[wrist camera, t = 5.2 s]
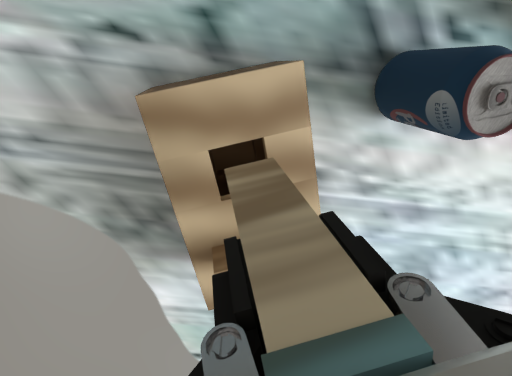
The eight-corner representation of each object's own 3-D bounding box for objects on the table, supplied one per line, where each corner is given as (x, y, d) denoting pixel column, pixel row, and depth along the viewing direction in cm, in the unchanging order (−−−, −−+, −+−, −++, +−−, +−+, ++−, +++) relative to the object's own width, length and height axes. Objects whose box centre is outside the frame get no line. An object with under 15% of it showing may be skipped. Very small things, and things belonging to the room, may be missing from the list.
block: (221, 167, 19) (270, 400, 6) (275, 154, 19) (433, 350, 6) (233, 214, 20) (293, 484, 7) (282, 202, 20) (424, 441, 8)
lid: (137, 94, 21) (123, 102, 17) (299, 60, 22) (322, 59, 18) (208, 302, 29) (210, 341, 25) (323, 270, 30) (343, 302, 26)
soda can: (366, 122, 33) (450, 150, 22) (371, 54, 30) (469, 47, 19) (423, 115, 34) (530, 139, 23) (432, 48, 31) (559, 39, 20)
